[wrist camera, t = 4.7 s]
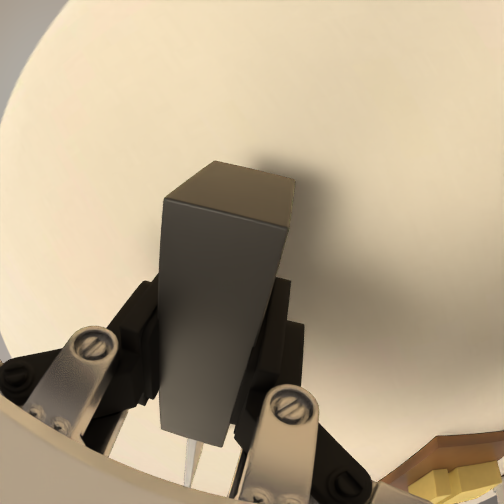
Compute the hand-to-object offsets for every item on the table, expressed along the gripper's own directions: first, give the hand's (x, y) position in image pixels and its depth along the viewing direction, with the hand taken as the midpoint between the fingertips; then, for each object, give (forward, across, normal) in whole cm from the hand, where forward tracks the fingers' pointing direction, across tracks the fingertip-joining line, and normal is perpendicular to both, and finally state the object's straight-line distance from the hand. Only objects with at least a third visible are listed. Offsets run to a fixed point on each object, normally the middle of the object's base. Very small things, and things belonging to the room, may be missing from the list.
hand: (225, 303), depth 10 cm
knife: (0, 0, +5) cm, 5 cm away
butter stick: (+3, -28, +19) cm, 34 cm away
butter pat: (+3, -22, +19) cm, 30 cm away
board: (+4, -25, +19) cm, 32 cm away
